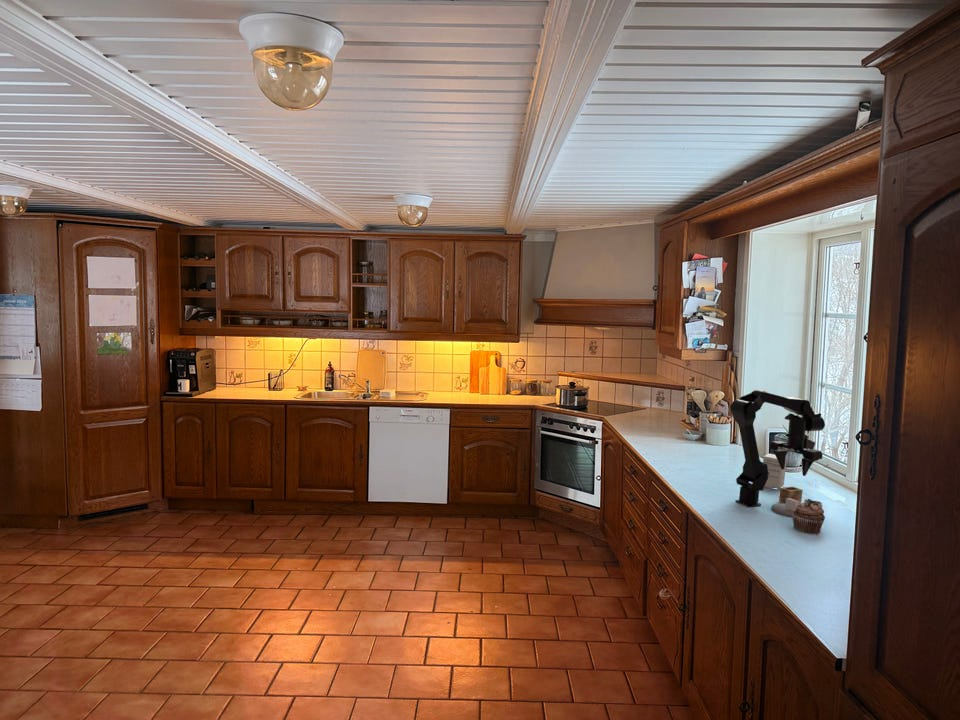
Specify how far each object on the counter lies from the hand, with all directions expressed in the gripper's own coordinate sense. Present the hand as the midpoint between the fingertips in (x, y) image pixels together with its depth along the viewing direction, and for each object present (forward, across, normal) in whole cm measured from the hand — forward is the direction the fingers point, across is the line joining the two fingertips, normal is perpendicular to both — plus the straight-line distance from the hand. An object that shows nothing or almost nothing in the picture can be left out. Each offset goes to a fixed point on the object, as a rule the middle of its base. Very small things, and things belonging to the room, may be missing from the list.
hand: (793, 472), depth 247 cm
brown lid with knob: (+11, -9, +12) cm, 18 cm away
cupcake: (+11, -24, +23) cm, 35 cm away
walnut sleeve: (+11, 0, 0) cm, 11 cm away
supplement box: (+12, +17, -10) cm, 23 cm away
